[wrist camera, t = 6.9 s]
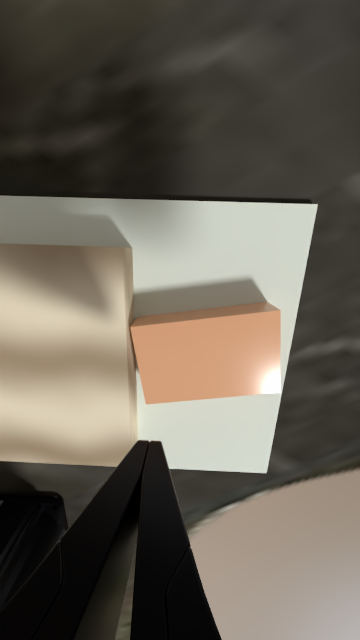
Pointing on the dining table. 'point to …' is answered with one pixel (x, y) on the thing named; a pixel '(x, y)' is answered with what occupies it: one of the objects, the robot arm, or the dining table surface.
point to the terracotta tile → (209, 353)
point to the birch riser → (67, 354)
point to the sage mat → (190, 296)
